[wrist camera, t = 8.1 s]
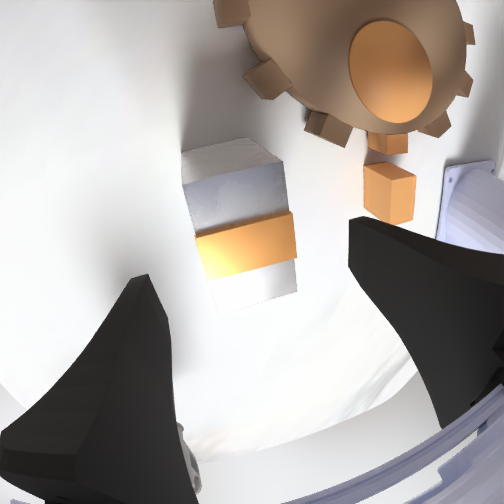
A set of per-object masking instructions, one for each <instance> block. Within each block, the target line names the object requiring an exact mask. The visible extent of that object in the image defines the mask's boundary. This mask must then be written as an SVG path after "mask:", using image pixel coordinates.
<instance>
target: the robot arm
mask: <svg viewBox="0 0 504 504" xmlns="http://www.w3.org/2000/svg"><path fill="white" fill-rule="evenodd" d="M494 173H495V162H494V161H492V160H489V161H482V162H475V163H468V164H461V165H455V166H449V167H447V168H446V170H445V175H444V186H443V195H442V204H441V211H440V218H439V225H438V231H437V237H436V239H433V238H429V237H426V236H423V235H420V234H417V233H414V232H412V231H409V230H406V229H403V228H400V227H397V226H395V225H392V224H389V223H386V222H383V221H380V220H376V219H373V218H369V217H365V216H362V217H358V218H354V219H350V220H349V255H348V267H349V268H350V270H351V272H352V273H353V275H354V277H355V278H356V280H357V282H358V283H359V285H360V286H361V288H362V289H363V290H364V291H365V293H366V294H367V295H368V296H369V298H370V299H371V300H372V301H373V303H374V304H375V305H376V306H377V308H378V309H379V310H380V311H381V313H382V314H383V315H384V316H385V318H386V319H387V320H388V321H389V323H390V324H391V325H392V326H393V328H394V329H395V331H396V332H397V333H398V335H399V336H400V338H401V340H402V341H403V343H404V345H405V346H406V348H407V350H408V352H409V353H410V355H411V357H412V359H413V361H414V363H415V365H416V367H417V369H418V371H419V372H420V375H421V377H422V379H423V381H424V383H425V386H426V388H427V390H428V393H429V395H430V398H431V400H432V403H433V406H434V408H435V411H436V414H437V417H438V421H439V424H440V427H441V428H442V430H441V431H439V432H438V433H436V434H435V435H433V436H432V437H430V438H429V439H427V440H425V441H424V442H422V443H421V444H419V445H417V446H416V447H414V448H412V449H411V450H409V451H408V452H405V453H404V454H402V455H400V456H398V457H396V458H394V459H393V460H391V461H389V462H387V463H385V464H383V465H381V466H379V467H377V468H375V469H373V470H371V471H369V472H366V473H364V474H362V475H360V476H358V477H355V478H353V479H351V480H349V481H346V482H344V483H341V484H339V485H336V486H333V487H331V488H328V489H325V490H323V491H320V492H317V493H314V494H311V495H309V496H305V497H302V498H299V499H296V500H292V501H289V502H285V503H282V504H355V503H358V502H360V501H362V500H364V499H366V498H369V497H371V496H373V495H375V494H377V493H379V492H381V491H383V490H385V489H387V488H389V487H391V486H393V485H395V484H397V483H398V482H400V481H402V480H404V479H406V478H407V477H409V476H411V475H413V474H414V473H416V472H417V471H419V470H421V469H423V468H424V467H426V466H427V465H429V464H430V463H432V462H433V461H435V460H437V459H438V458H439V457H441V456H442V455H444V454H445V453H447V452H448V451H450V450H451V449H452V448H454V447H455V446H456V445H458V444H459V443H460V442H462V441H463V440H464V439H466V438H467V437H468V436H470V434H472V433H473V432H474V431H476V430H477V429H478V428H479V429H478V431H477V438H476V439H474V440H473V441H472V442H471V443H470V444H468V445H467V446H466V447H465V448H463V449H462V450H461V451H460V452H459V453H457V454H456V455H455V456H454V457H453V458H451V459H450V460H448V461H447V462H446V463H444V464H443V465H441V466H440V467H439V468H438V473H439V474H440V476H441V478H442V481H440V482H439V483H437V484H436V485H434V486H432V487H431V488H429V489H428V490H426V491H424V492H423V493H421V494H419V495H418V496H416V497H414V498H413V499H411V500H409V501H407V502H405V503H404V504H504V181H503V180H501V179H499V178H497V177H495V176H494ZM0 476H1V477H2V478H3V479H4V480H6V481H7V482H9V483H11V484H12V485H14V486H16V487H18V488H20V489H22V490H24V491H26V492H28V493H30V494H32V495H34V496H36V497H38V498H41V499H43V500H45V504H199V503H198V500H197V498H196V494H195V491H194V489H193V486H192V483H191V479H190V476H189V473H188V469H187V466H186V462H185V458H184V454H183V450H182V446H181V442H180V437H179V433H178V428H177V422H176V417H175V411H174V403H173V388H172V354H171V337H170V330H169V323H168V317H167V315H166V313H165V311H164V309H163V307H162V304H161V302H160V300H159V298H158V296H157V293H156V291H155V289H154V287H153V284H152V282H151V280H150V278H149V275H148V274H145V275H142V276H138V277H135V278H131V280H130V281H129V282H128V284H127V285H126V287H125V288H124V290H123V292H122V293H121V295H120V296H119V298H118V299H117V301H116V303H115V304H114V306H113V307H112V309H111V311H110V312H109V314H108V315H107V317H106V318H105V320H104V321H103V323H102V324H101V326H100V327H99V329H98V330H97V332H96V333H95V335H94V336H93V338H92V339H91V341H90V342H89V343H88V345H87V346H86V348H85V349H84V350H83V352H82V353H81V354H80V355H79V357H78V358H77V359H76V360H75V362H74V363H73V364H72V365H71V367H70V368H69V369H68V370H67V371H66V372H65V373H64V374H63V376H62V377H61V378H60V379H59V380H58V381H57V382H56V383H55V384H54V386H53V387H52V388H51V389H50V390H49V391H48V392H47V393H46V394H45V395H44V396H43V397H42V398H41V399H40V400H39V401H37V402H36V403H35V404H34V405H33V406H32V407H31V408H30V409H29V410H28V411H26V412H25V413H24V414H23V415H22V416H20V417H19V418H18V419H17V420H15V421H14V422H13V423H12V424H10V425H9V426H8V427H7V428H5V429H4V430H3V431H1V435H0ZM11 504H29V503H25V502H21V501H18V500H14V499H12V500H11Z"/></svg>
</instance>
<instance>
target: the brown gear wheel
mask: <svg viewBox="0 0 504 504" xmlns="http://www.w3.org/2000/svg"><path fill="white" fill-rule="evenodd" d="M213 4H214V10H215V15H216V20H217V26H218V28H223V27H231V26H239V25H243V28H244V31H245V33H246V35H247V38H248V40H249V42H250V45H251V46H252V48H253V50H254V52H255V53H256V55H257V57H258V59H259V60H260V61H261V63H259V64H258V65H256V66H255V67H254V68H252V69H251V70H250V71H248V72H247V73H246V74H244V75H243V78H244V79H245V80H246V81H247V82H248V83H249V84H250V86H251V87H252V88H253V89H254V90H255V91H256V93H257V94H258V95H259V96H260V97H261V99H270V100H274V99H275V98H276V97H277V96H279V95H280V94H281V93H283V92H284V91H285V90H286V91H287V92H288V93H289V94H290V95H291V96H292V97H293V98H295V99H296V100H297V101H299V102H300V103H302V104H303V105H304V106H306V107H307V108H309V109H310V110H312V111H311V114H310V116H309V119H308V121H307V124H306V126H305V129H304V131H306V132H308V133H311V134H313V135H315V136H318V137H320V138H322V139H324V140H326V141H329V142H331V143H334V144H336V145H339V146H341V147H344V148H345V146H346V143H347V141H348V139H349V136H350V134H351V131H352V129H353V127H355V128H359V129H362V130H365V131H368V148H370V149H373V150H375V151H378V152H380V153H383V154H385V155H395V154H402V153H408V132H412V131H415V130H418V132H421V133H424V134H427V135H430V136H433V137H436V138H439V137H440V136H441V135H442V134H444V133H445V132H446V131H447V130H448V129H449V128H450V127H451V123H450V120H449V118H448V115H447V112H446V111H445V110H446V109H447V108H448V107H449V105H450V104H451V103H452V101H453V100H454V98H455V96H456V95H458V96H462V97H467V98H468V97H469V94H470V90H471V87H472V83H473V79H472V78H471V77H470V76H469V74H468V73H467V72H466V71H465V64H466V44H470V45H475V38H474V32H473V25H471V24H469V23H466V22H464V21H463V20H462V16H461V13H460V10H459V7H458V4H457V2H456V0H214V1H213ZM313 111H314V112H313ZM351 126H352V127H351Z"/></svg>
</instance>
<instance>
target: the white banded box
mask: <svg viewBox="0 0 504 504" xmlns="http://www.w3.org/2000/svg"><path fill="white" fill-rule="evenodd" d="M181 173H182V187H183V190H184V194H185V198H186V202H187V205H188V209H189V212H190V216H191V220H192V223H193V227H194V230H195V234H196V235H195V240H196V244H197V247H198V250H199V254H200V257H201V260H202V264H203V267H204V270H205V273H206V277H207V280H208V282H210V284H211V287H212V290H213V293H214V297H215V300H216V303H217V306H218V309H219V312H220V313H223V312H227V311H231V310H234V309H238V308H242V307H245V306H249V305H252V304H256V303H259V302H263V301H266V300H270V299H273V298H277V297H280V296H284V295H287V294H290V293H294V292H297V284H296V273H295V263H294V259H295V258H297V252H296V242H295V232H294V222H293V214H292V213H291V211H289V206H288V198H287V189H286V181H285V173H284V166H283V161H282V160H280V159H279V158H277V157H276V156H275V155H273V154H272V153H270V152H269V151H267V150H266V149H264V148H263V147H261V146H260V145H258V144H257V143H255V142H254V141H252V140H251V139H249V138H247V137H245V138H240V139H235V140H231V141H226V142H221V143H217V144H213V145H208V146H204V147H200V148H196V149H192V150H188V151H184V152H181Z"/></svg>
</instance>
